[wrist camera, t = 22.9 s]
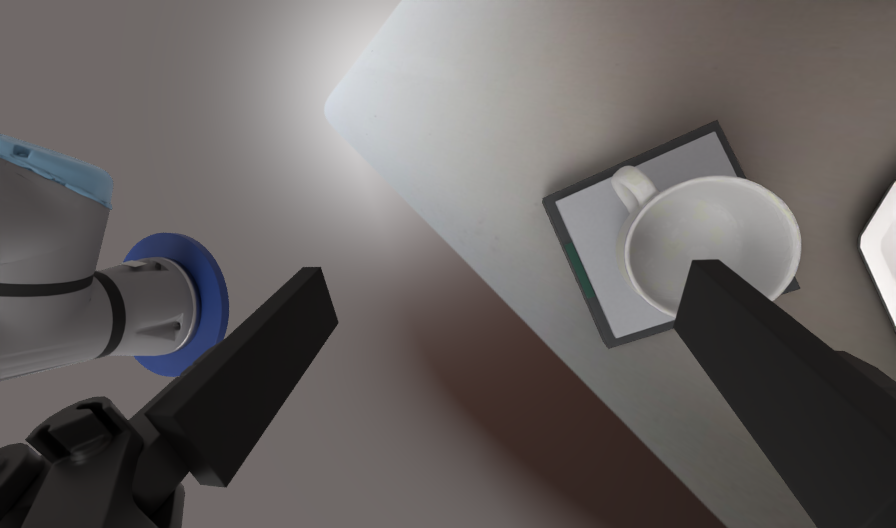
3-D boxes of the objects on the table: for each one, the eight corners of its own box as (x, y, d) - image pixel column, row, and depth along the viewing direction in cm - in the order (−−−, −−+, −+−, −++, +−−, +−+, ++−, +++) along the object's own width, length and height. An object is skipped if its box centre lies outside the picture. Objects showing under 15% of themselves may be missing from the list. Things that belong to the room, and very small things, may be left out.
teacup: (759, 273, 29) (840, 279, 21) (641, 327, 32) (675, 350, 24) (673, 144, 31) (720, 106, 23) (567, 205, 33) (576, 190, 25)
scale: (603, 342, 36) (610, 351, 32) (541, 202, 37) (542, 196, 34) (780, 286, 31) (808, 289, 28) (704, 129, 33) (722, 115, 30)
